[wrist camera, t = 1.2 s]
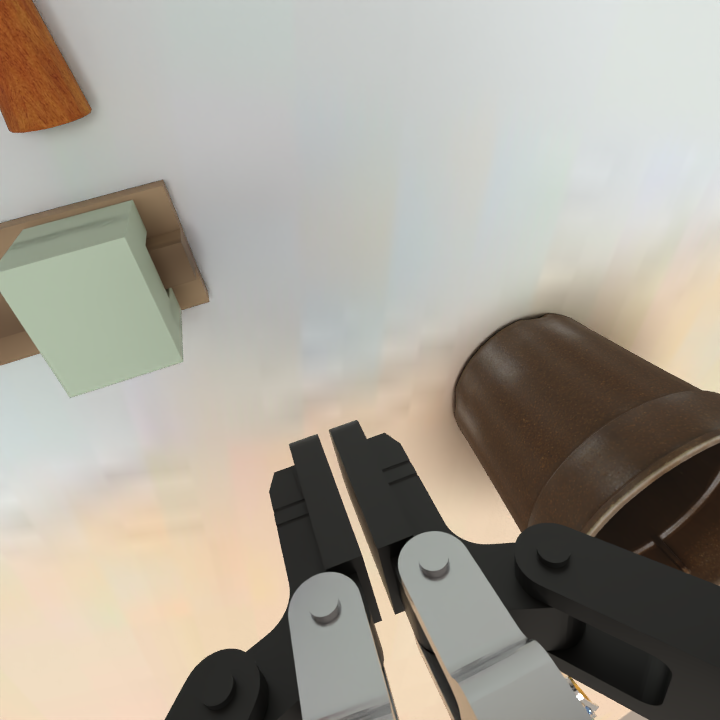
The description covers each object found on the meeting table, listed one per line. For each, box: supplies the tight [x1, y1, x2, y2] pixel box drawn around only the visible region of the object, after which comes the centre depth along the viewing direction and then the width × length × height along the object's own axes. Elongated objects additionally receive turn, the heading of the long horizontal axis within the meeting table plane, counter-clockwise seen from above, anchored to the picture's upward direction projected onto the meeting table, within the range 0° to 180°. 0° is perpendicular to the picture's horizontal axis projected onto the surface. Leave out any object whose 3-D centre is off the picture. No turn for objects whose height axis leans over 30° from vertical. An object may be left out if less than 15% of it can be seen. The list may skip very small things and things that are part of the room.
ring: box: [560, 671, 599, 720], centre depth 66 cm, size 7×3×8 cm, turn 28°
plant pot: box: [454, 314, 720, 586], centre depth 34 cm, size 16×16×16 cm
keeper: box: [0, 200, 183, 398], centre depth 24 cm, size 6×5×6 cm
